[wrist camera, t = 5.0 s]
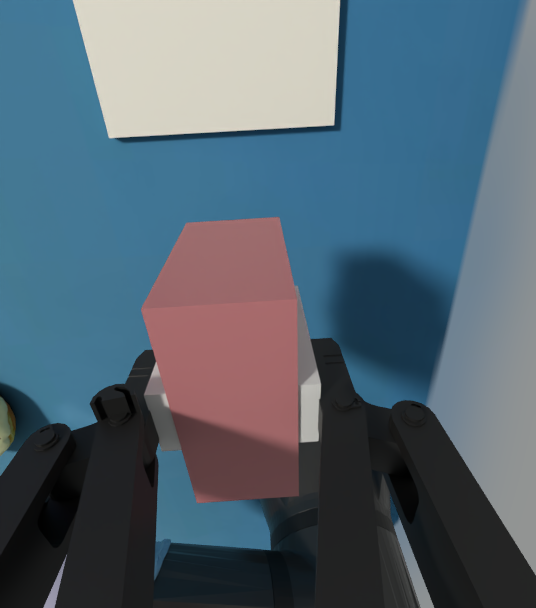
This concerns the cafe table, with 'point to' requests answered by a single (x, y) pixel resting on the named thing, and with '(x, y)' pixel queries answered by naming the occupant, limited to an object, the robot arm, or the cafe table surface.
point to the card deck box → (230, 357)
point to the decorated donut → (6, 426)
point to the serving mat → (211, 64)
